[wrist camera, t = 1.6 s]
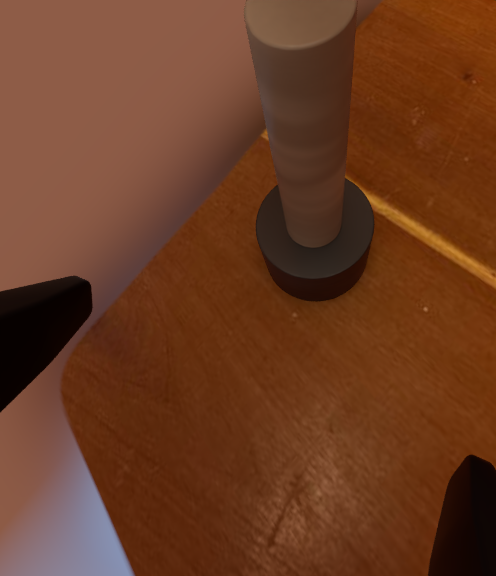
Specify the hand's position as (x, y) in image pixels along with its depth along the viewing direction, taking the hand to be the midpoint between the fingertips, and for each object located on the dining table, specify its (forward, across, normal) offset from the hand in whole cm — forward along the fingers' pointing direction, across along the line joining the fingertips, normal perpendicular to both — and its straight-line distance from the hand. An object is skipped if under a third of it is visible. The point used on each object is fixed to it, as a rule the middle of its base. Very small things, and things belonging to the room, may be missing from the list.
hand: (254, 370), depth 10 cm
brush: (+15, +2, +6) cm, 16 cm away
